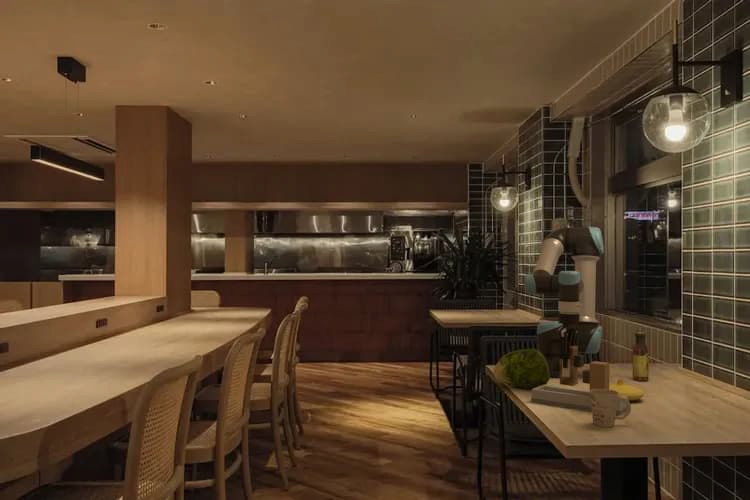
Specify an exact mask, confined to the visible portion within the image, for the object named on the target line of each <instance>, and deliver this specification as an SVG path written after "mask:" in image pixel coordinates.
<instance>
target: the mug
mask: <svg viewBox="0 0 750 500" xmlns="http://www.w3.org/2000/svg"><path fill="white" fill-rule="evenodd" d="M588 391H589V390H588ZM589 393H590V401H591V409H592V411H591V416H592V423H593V425H594V424H595V425H594V426H598V427H603V428H604V427H605V428H610V427H611V426H612V427H614V426H615V421H616V420H624V419H626V418H627V417H628V416H629V415H630V413H631V410H632V406H631V401H628V400H627V399H626V398H624V397H618V392H617V391H614V390H608V389H591V390H590V391H589ZM618 401H623V402H624V403H625V404H626V406H627V410H626V412H624V413H623V414H622V415H621V416H618V415H616V409H617V402H618ZM612 427H611V428H612Z"/></svg>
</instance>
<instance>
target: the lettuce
mask: <svg viewBox="0 0 750 500" xmlns="http://www.w3.org/2000/svg"><path fill="white" fill-rule="evenodd" d="M493 374H494V375H493V376H494V378H495V379H496V381H497V382H498V383H500V384H504V385H507V386H509V387H513V388H518V389H519V388H520V389H534V388H536V387H539V386H541V385H545V386H546V385H547V384H548V382H549V381H550V380H551V379H550V372H549V368H548V364H547V361H546V359H545V357H544V356H543V354H542V353H541V352H540V351H539V350H537V348H522V349H518V350H514V351H511V352H507V353H505V354H504V355H503V356H501V358H500V359H499V361H497V363H496V365H495V366H494V369H493Z"/></svg>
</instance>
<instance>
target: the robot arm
mask: <svg viewBox="0 0 750 500" xmlns="http://www.w3.org/2000/svg"><path fill="white" fill-rule="evenodd" d="M603 239H604V238H603V235H602V231H601V229H600V228H599V227H595V226H581V227H580V226H576V227H575V226H574V227H573V226H571V227H570V226H569V227H567V226H565V227H560V228H557V229H555V230H553V231H551V232H550V233H549V234H547V235H546V237H544V239H543V240H542V242H541V245H540V251H541V252H540V254H539V257H538V260H537V263H536V265H535V268H534V270H533V273H531V274H528V273H527V274H526V275H525V276H524V279H523V280H524V281H523V289H524V291H525V292H526V293H527V294H534V295H536V294H537V295H539V294H540V295H541V294H542V295H558V310H557V311H558V312H559V313H558V320H554V321H553V320H552V321H544V322H540V323H538V325H537V329H536V350H539V351H540V352H541V353H542V354H543V356H544V357H545V359H546V361H547V364H548V368H549V372H550V378H552V379H553V378H554V379H555V378H556V379H558V378H559V379H560V359H562V376H563V377H570V359H569V352H570V345H571V346H578V354H586V355H587V354H597V353H598V352H599V351H600V348H601V343H602V338H603V337H602V336H603V327H602V326H601V325H599V321H598V320H597V318H596V287H597V286H596V282H597V280H596V279H597V277H596V276H597V273H596V272H597V262H598V261H599V260H600V259H601V257H600V256H601V255H603V254H604V248H605V247H604V241H603ZM563 254H567V255H570V254H571V259H572V260H573V261H574V270H561V271H559V273H558V274H554V273H555V270H556V267H557V264H558V261H559V258H560V257H561V256H562V255H563Z"/></svg>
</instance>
